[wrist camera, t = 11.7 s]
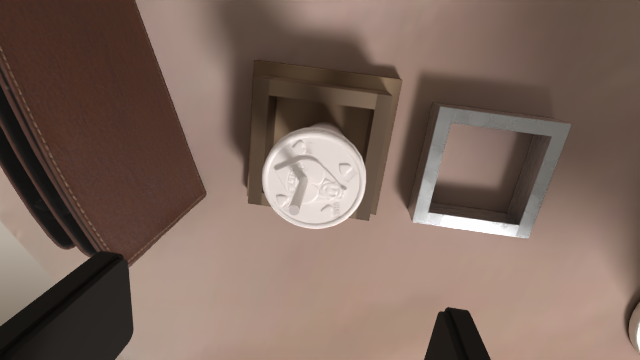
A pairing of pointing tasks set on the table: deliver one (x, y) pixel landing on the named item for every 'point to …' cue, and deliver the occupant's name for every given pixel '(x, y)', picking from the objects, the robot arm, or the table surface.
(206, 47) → the table surface
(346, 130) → the socket
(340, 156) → the smoothie
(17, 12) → the letter holder
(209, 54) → the table surface
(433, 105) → the holder
